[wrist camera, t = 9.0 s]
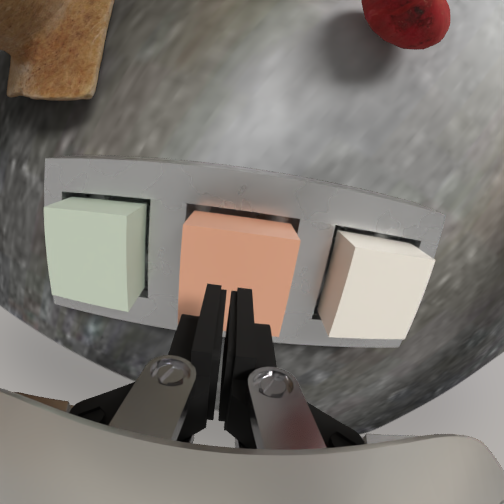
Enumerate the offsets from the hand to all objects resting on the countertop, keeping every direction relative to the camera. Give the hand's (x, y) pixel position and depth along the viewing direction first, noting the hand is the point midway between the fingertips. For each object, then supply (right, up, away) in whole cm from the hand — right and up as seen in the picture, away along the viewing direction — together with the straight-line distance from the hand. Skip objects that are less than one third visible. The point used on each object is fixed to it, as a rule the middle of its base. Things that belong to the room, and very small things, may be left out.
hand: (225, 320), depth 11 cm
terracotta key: (0, +2, +5) cm, 6 cm away
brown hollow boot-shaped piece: (-14, +21, +3) cm, 25 cm away
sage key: (-8, +3, +5) cm, 10 cm away
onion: (+11, +19, +4) cm, 22 cm away
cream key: (+8, +1, +6) cm, 10 cm away
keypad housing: (0, +3, +9) cm, 10 cm away
